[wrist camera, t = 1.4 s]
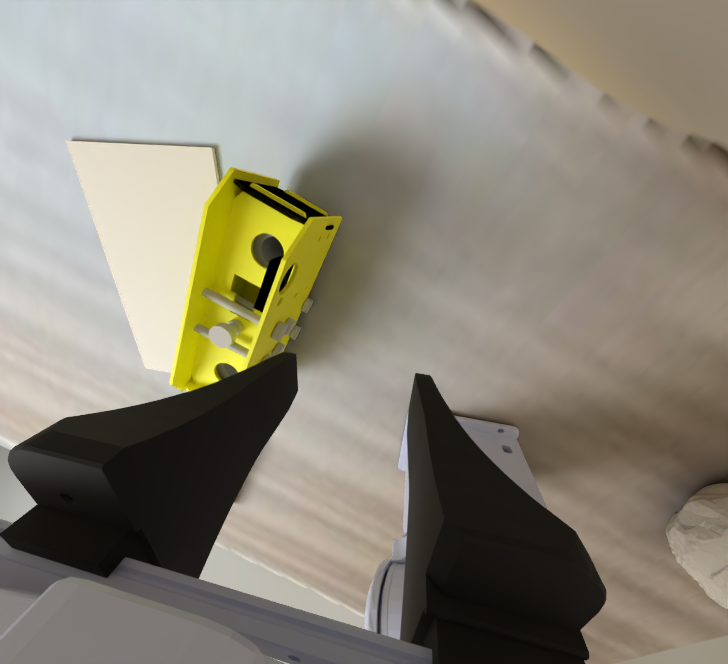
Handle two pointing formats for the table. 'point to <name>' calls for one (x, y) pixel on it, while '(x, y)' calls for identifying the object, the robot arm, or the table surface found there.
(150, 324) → the felt pad
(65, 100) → the table surface
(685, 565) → the fossil replica
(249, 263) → the yellow toy chassis
